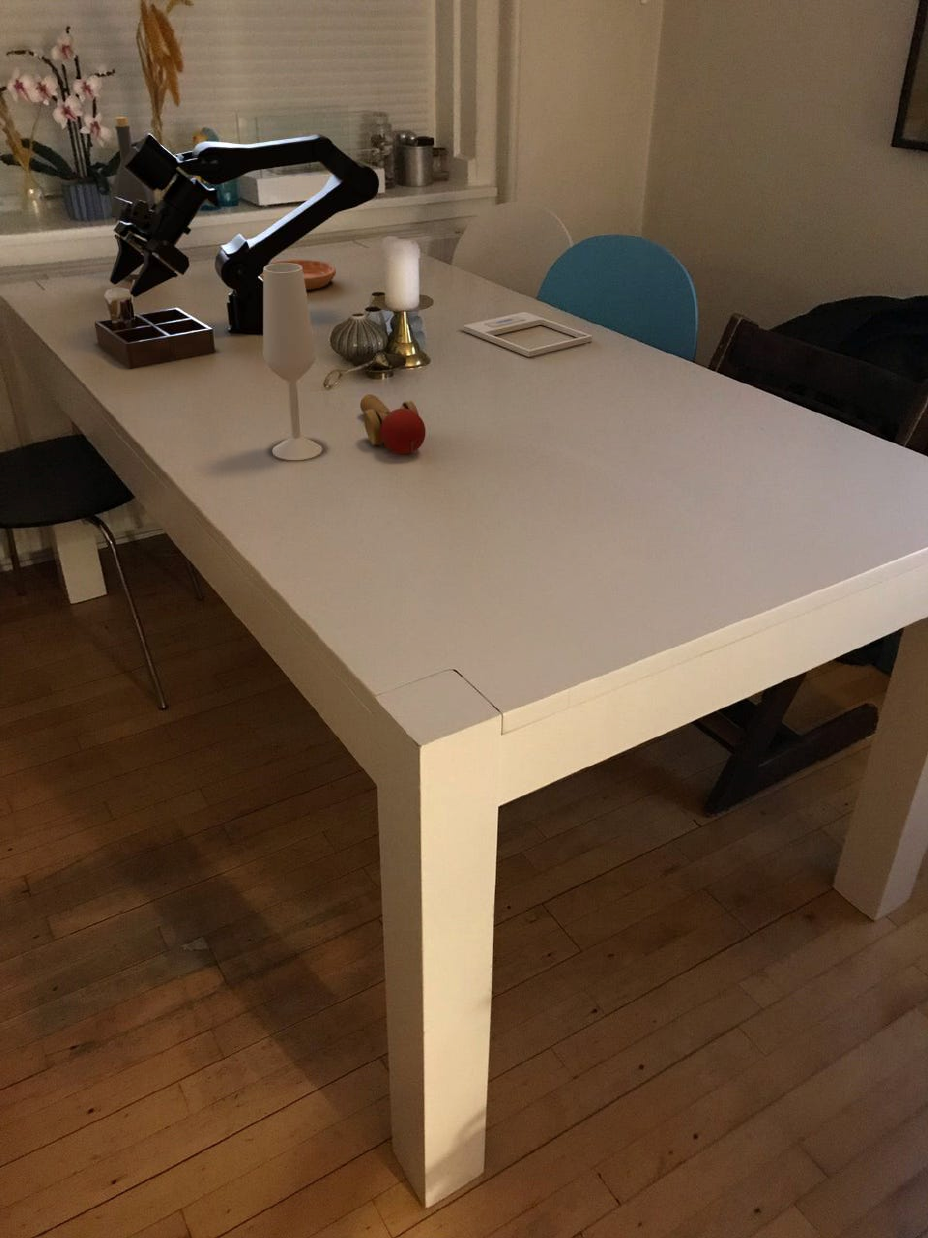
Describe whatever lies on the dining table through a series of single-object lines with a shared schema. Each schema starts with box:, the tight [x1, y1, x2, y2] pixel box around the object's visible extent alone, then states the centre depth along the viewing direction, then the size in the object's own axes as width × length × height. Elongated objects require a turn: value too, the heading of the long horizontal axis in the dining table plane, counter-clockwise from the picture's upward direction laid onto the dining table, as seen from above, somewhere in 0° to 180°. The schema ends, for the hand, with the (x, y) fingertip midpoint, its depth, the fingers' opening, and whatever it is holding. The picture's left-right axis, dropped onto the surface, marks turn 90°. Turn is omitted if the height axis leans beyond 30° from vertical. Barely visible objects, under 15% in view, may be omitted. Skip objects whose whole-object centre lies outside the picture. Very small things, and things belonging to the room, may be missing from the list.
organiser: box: [94, 307, 216, 369], centre depth 174 cm, size 15×15×4 cm
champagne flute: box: [262, 263, 323, 461], centre depth 133 cm, size 7×7×24 cm
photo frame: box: [462, 311, 593, 358], centre depth 183 cm, size 15×1×18 cm
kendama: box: [359, 393, 427, 455], centre depth 143 cm, size 8×6×18 cm
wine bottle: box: [111, 116, 156, 283], centre depth 206 cm, size 8×8×30 cm
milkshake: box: [104, 280, 135, 331], centre depth 173 cm, size 5×5×10 cm
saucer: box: [260, 259, 337, 291], centre depth 210 cm, size 16×16×3 cm
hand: (122, 288), depth 171 cm, fingers open, 9 cm apart
